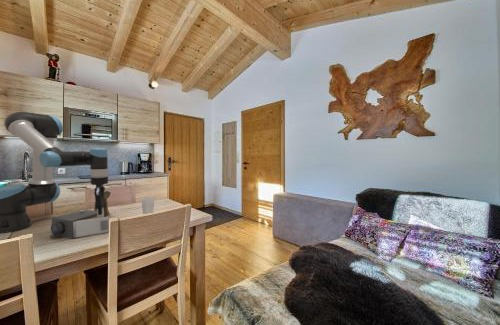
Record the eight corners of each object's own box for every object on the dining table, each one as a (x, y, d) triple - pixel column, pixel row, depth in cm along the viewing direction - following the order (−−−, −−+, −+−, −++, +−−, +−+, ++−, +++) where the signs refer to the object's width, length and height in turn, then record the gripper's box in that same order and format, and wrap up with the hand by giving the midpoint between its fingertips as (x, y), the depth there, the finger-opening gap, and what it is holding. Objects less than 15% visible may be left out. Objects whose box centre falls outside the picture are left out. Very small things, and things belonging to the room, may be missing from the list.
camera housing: (46, 237, 103) (45, 218, 102) (84, 224, 121) (83, 208, 120) (66, 240, 99) (66, 220, 99) (103, 227, 117) (102, 210, 117)
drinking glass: (146, 223, 124) (145, 199, 123) (139, 221, 128) (139, 197, 127) (156, 220, 130) (156, 197, 129) (150, 218, 133) (149, 195, 133)
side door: (73, 237, 102) (73, 221, 102) (108, 230, 111) (108, 216, 110) (73, 238, 101) (72, 222, 100) (109, 232, 109) (108, 217, 109)
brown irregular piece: (99, 220, 128) (98, 192, 127) (90, 216, 135) (89, 189, 134) (114, 216, 135) (114, 190, 134) (105, 213, 143) (105, 187, 142)
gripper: (93, 175, 114) (94, 217, 115) (87, 178, 102) (89, 224, 103) (109, 175, 117) (110, 215, 118) (105, 177, 105) (106, 222, 107)
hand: (100, 219), depth 111 cm, fingers closed
